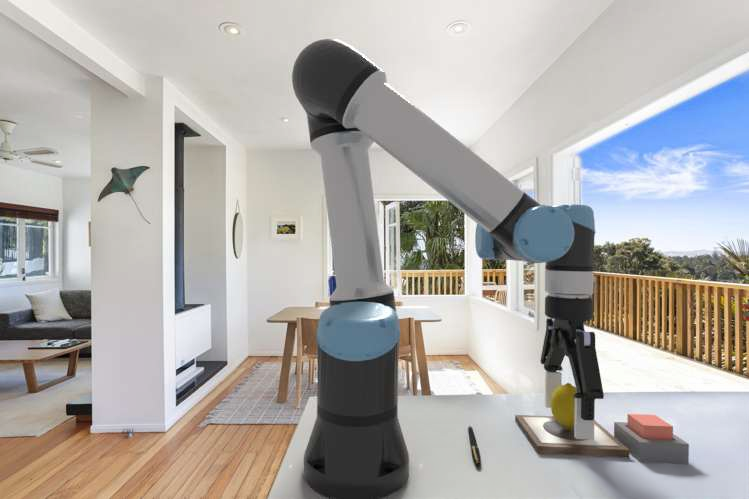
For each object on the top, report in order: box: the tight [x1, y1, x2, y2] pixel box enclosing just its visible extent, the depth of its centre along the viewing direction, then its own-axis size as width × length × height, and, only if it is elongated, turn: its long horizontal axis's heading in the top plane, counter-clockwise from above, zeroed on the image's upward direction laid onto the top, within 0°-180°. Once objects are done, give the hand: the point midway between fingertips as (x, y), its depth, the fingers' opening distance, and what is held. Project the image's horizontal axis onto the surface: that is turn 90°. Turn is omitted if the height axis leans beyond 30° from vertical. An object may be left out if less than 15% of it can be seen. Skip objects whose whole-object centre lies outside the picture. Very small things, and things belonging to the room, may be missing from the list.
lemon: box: [550, 382, 577, 430], centre depth 69 cm, size 6×6×8 cm
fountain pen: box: [467, 424, 482, 468], centre depth 65 cm, size 14×1×2 cm, turn 172°
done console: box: [613, 421, 690, 465], centre depth 65 cm, size 7×7×3 cm
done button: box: [626, 413, 674, 440], centre depth 65 cm, size 4×4×2 cm
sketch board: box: [514, 414, 630, 459], centre depth 69 cm, size 14×12×1 cm
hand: (567, 421), depth 69 cm, fingers open, 12 cm apart
